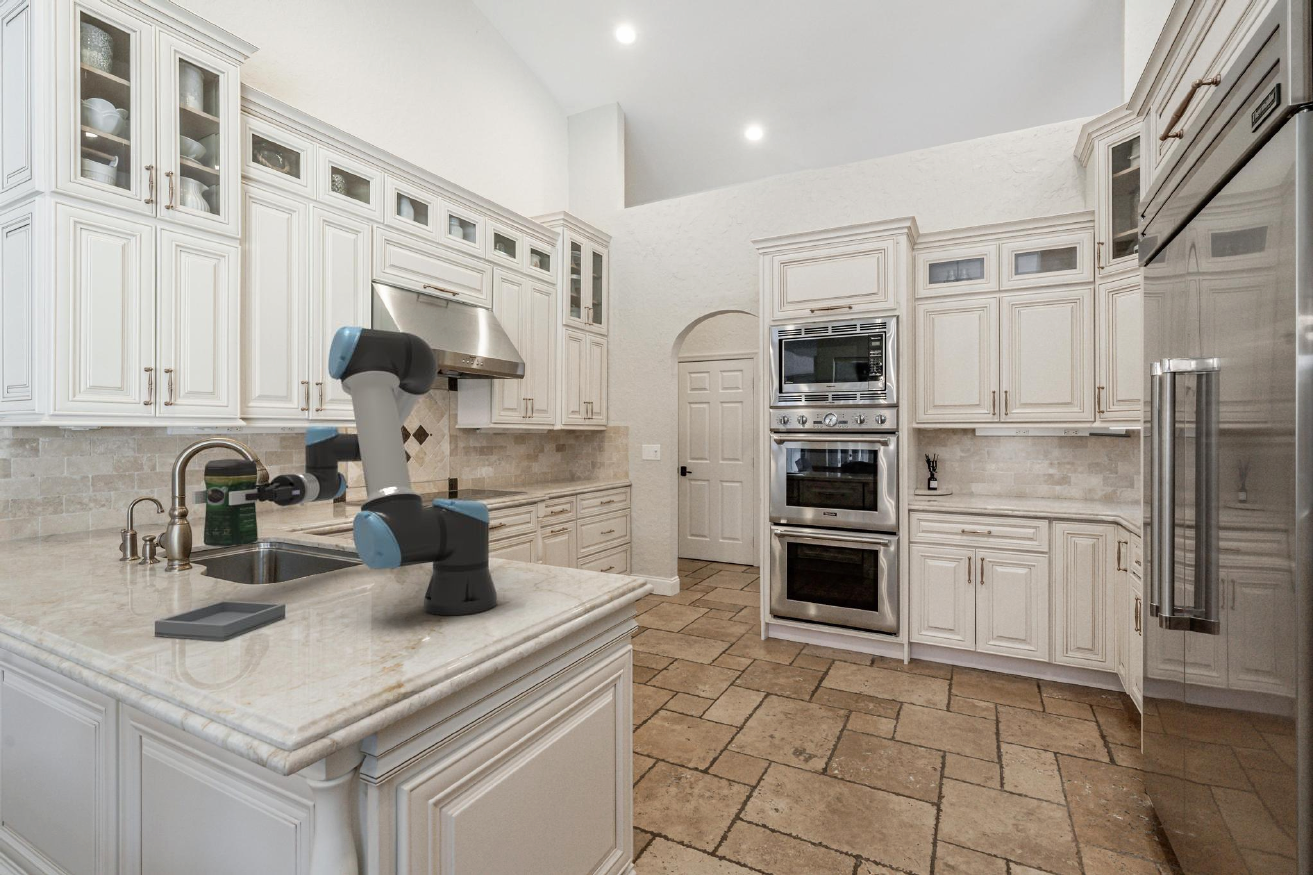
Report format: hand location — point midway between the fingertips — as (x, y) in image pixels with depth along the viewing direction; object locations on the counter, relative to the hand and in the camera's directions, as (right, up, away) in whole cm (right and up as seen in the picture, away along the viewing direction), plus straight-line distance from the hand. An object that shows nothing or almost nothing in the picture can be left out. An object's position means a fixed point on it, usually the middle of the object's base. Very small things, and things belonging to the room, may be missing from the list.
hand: (212, 498), depth 130 cm
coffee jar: (+1, -11, +5) cm, 12 cm away
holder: (+9, -24, -10) cm, 27 cm away
